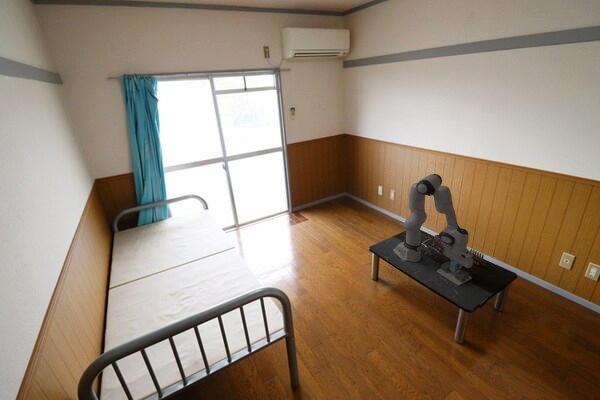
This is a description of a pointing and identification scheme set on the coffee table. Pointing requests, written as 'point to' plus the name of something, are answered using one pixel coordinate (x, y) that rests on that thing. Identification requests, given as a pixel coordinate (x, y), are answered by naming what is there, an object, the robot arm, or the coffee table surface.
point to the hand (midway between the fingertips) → (455, 266)
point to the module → (454, 266)
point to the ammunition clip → (477, 258)
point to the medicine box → (440, 242)
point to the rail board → (454, 274)
